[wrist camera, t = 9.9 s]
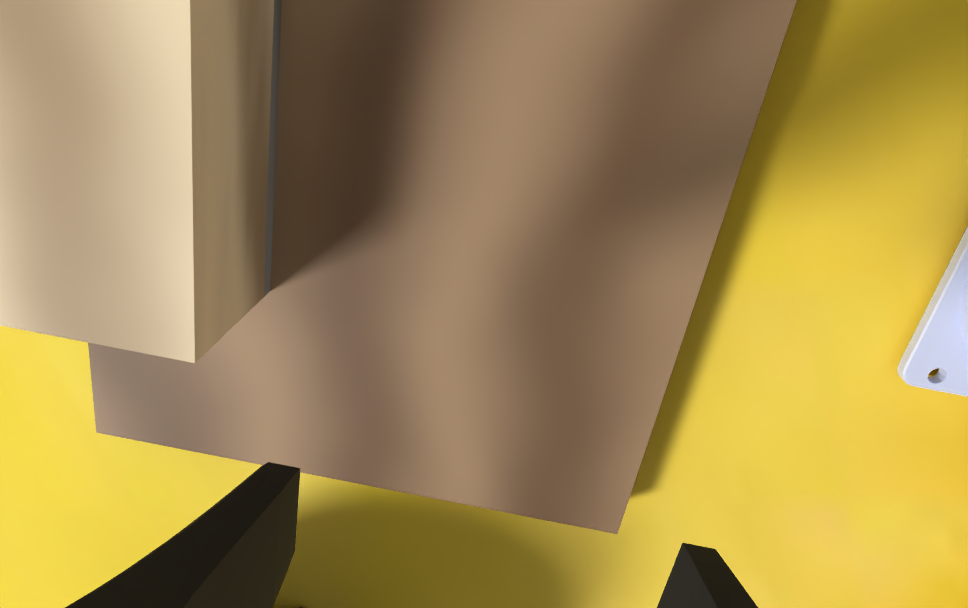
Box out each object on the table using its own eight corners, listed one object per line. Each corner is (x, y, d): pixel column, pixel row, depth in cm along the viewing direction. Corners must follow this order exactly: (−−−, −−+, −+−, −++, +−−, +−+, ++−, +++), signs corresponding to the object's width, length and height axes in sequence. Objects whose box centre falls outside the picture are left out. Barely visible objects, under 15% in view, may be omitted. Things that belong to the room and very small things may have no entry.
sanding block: (283, -48, 15) (188, -77, 11) (270, 291, 19) (195, 363, 15) (56, -91, 15) (-121, -136, 11) (87, 255, 19) (-40, 317, 15)
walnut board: (863, -269, 14) (898, -302, 13) (612, 504, 23) (617, 533, 21) (66, -416, 14) (14, -465, 13) (123, 408, 23) (96, 432, 22)
